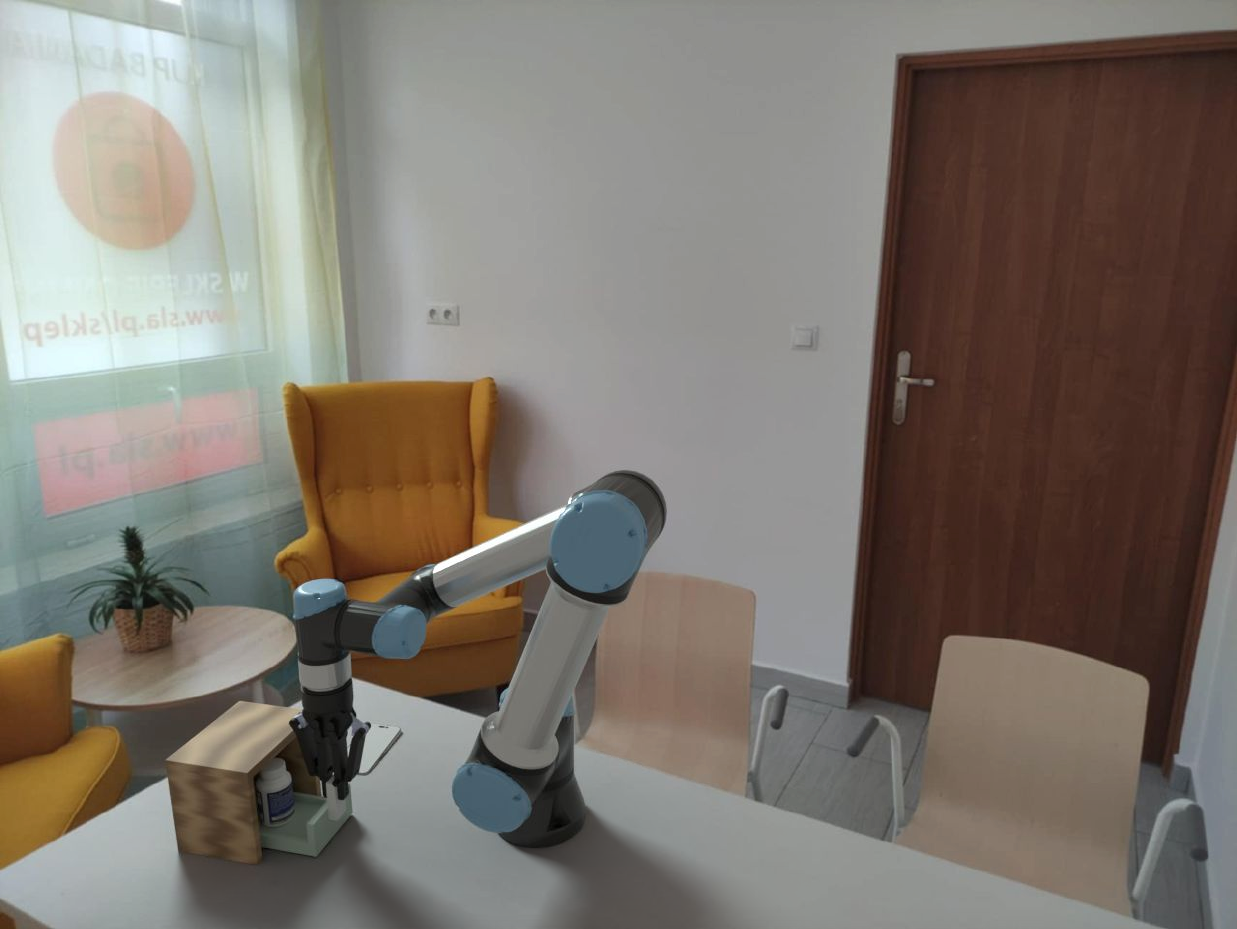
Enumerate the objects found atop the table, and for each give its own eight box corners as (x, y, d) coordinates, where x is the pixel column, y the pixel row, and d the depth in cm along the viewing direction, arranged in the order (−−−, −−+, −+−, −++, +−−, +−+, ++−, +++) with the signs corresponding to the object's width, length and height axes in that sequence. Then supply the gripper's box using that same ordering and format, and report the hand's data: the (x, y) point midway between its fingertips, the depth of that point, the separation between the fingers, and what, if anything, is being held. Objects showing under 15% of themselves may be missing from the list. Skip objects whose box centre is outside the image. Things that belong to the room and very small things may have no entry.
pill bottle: (301, 809, 148) (296, 757, 145) (283, 830, 143) (278, 776, 140) (271, 805, 149) (266, 753, 146) (252, 826, 144) (246, 772, 141)
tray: (352, 812, 149) (350, 782, 148) (316, 856, 139) (313, 824, 137) (249, 795, 153) (246, 766, 152) (207, 837, 143) (203, 806, 142)
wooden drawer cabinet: (321, 794, 154) (313, 711, 150) (257, 865, 137) (247, 773, 133) (249, 783, 157) (239, 700, 153) (178, 850, 140) (165, 760, 136)
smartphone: (329, 769, 161) (367, 722, 175) (329, 774, 161) (368, 728, 175) (367, 774, 160) (403, 727, 174) (367, 779, 160) (403, 732, 174)
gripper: (377, 673, 139) (386, 806, 145) (301, 663, 142) (313, 794, 148) (352, 697, 132) (363, 836, 138) (273, 686, 135) (287, 823, 141)
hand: (337, 814), depth 143 cm, fingers closed
